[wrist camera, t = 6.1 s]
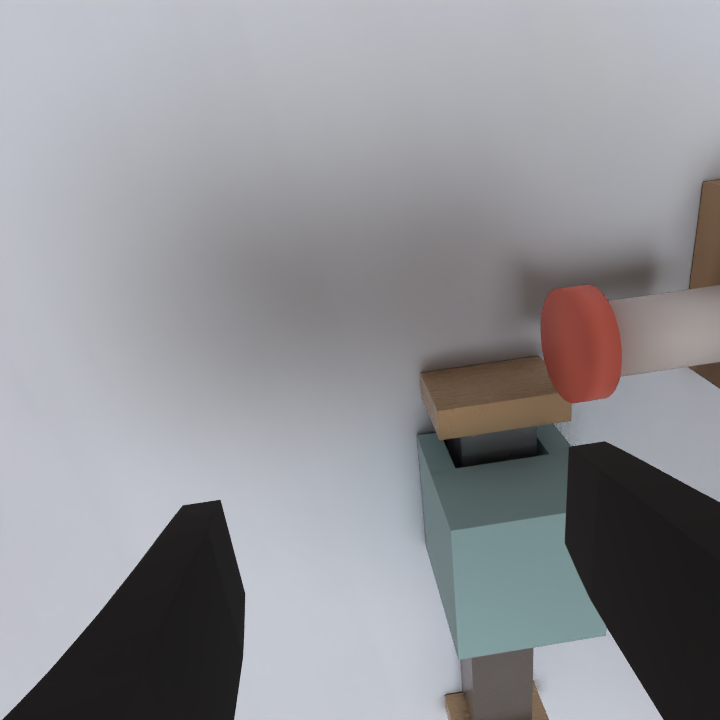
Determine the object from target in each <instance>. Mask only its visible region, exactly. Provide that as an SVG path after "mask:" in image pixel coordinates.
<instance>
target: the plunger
mask: <svg viewBox="0 0 720 720" xmlns="http://www.w3.org/2000/svg"><path fill="white" fill-rule="evenodd" d="M541 342H542V350H543V355H544V360H545V364H546V368H547V371H548V374H549V377H550V379H551V381H552V384H553V385H554V387H555V389H556V391H557V392H558V394H559V395H560V396H561V397H562V398H563V399H564V400H565V401H567V402H569V403H578V402H584V401H591V400H598V399H604V398H607V397H609V396H610V395H611V394H612V393H613V392H614V391H615V389H616V387H617V385H618V382H619V379H620V377H621V376H628V375H634V374H641V373H648V372H655V371H662V370H668V369H675V368H682V367H689V366H696V365H702V364H709V363H716V362H720V285H717V286H710V287H703V288H696V289H689V290H682V291H675V292H668V293H660V294H653V295H646V296H639V297H632V298H625V299H618V300H611V301H608V300H607V298H606V297H605V295H604V294H603V293H602V292H601V291H600V290H599V289H598V288H597V287H595V286H593V285H589V284H588V285H580V286H573V287H565V288H558V289H554V290H552V291H551V292H550V293H549V294H548V295H547V297H546V299H545V302H544V305H543V309H542V315H541Z"/></svg>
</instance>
